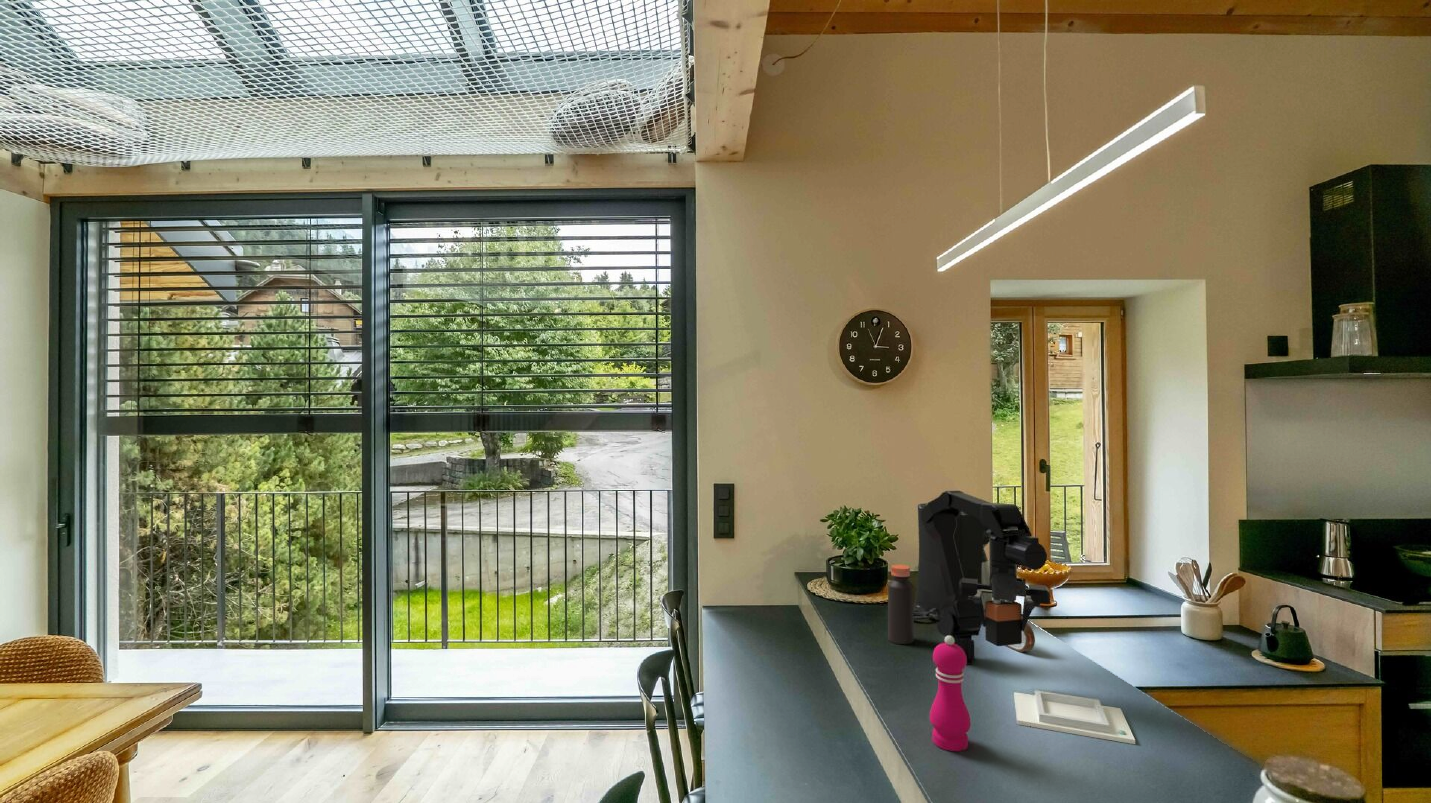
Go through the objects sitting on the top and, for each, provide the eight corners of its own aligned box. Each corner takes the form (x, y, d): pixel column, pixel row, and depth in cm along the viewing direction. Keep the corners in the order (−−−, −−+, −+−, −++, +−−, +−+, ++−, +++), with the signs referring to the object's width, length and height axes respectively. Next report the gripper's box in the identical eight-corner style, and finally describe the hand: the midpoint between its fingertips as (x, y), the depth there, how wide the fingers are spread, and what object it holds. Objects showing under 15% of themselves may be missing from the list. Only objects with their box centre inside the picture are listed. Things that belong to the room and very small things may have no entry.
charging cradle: (1017, 724, 128) (1017, 712, 128) (1014, 695, 141) (1014, 685, 141) (1135, 744, 120) (1135, 731, 120) (1120, 712, 133) (1120, 700, 133)
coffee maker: (1009, 611, 202) (1008, 503, 202) (963, 635, 179) (962, 514, 180) (940, 596, 218) (940, 496, 219) (890, 617, 195) (890, 506, 196)
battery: (1022, 644, 145) (1022, 599, 145) (997, 647, 143) (997, 602, 143) (1009, 637, 149) (1008, 594, 149) (984, 640, 147) (984, 596, 148)
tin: (1036, 655, 165) (1035, 622, 165) (1026, 656, 164) (1026, 623, 164) (992, 636, 179) (992, 605, 179) (983, 637, 178) (983, 606, 178)
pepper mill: (923, 734, 124) (923, 629, 124) (959, 732, 124) (959, 628, 125) (939, 753, 117) (939, 643, 117) (978, 752, 117) (977, 641, 118)
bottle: (896, 634, 180) (895, 562, 180) (918, 640, 175) (918, 566, 175) (883, 640, 175) (883, 566, 176) (905, 646, 170) (905, 571, 171)
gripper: (958, 563, 143) (958, 633, 142) (1052, 571, 136) (1053, 645, 135) (959, 553, 153) (960, 619, 153) (1047, 560, 146) (1048, 629, 146)
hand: (1003, 628), depth 146 cm, fingers closed on battery, 8 cm apart
